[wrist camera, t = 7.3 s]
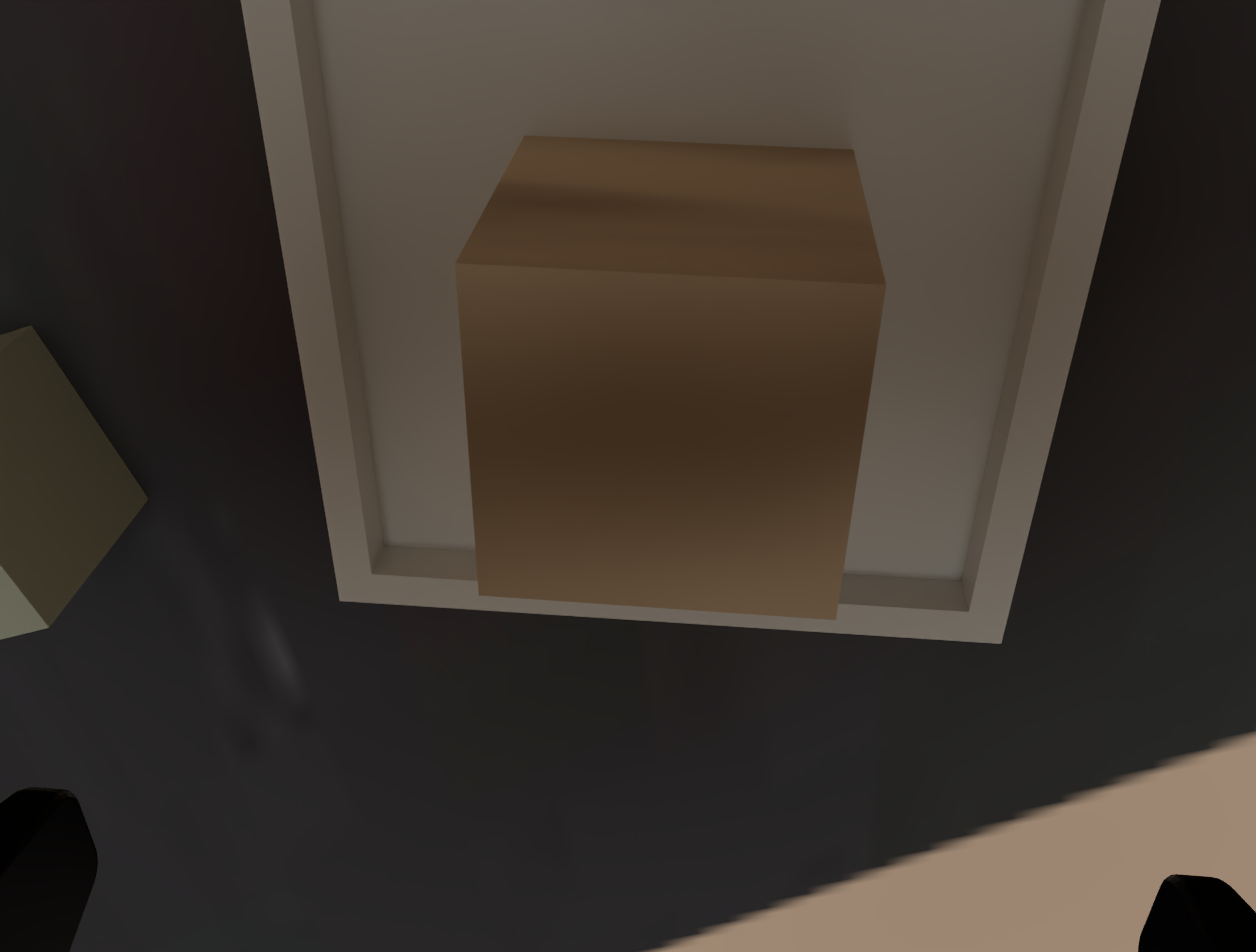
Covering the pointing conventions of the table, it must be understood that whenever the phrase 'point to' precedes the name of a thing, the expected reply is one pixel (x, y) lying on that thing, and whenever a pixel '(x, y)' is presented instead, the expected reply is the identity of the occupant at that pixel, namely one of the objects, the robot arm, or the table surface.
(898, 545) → the tray
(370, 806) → the table surface
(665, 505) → the oak block
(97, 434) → the sage block
